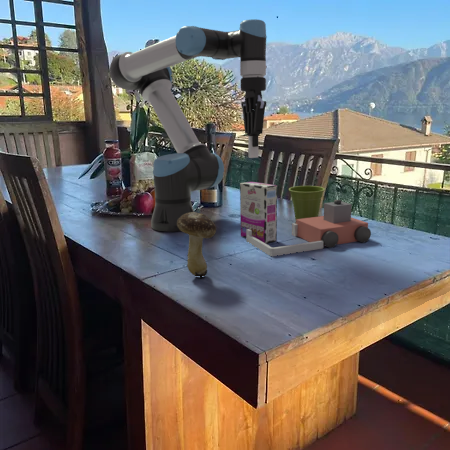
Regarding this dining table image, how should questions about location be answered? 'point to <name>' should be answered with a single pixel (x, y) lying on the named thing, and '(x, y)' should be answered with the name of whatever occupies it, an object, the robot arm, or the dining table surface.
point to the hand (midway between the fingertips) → (253, 157)
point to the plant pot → (306, 200)
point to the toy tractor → (321, 231)
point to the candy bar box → (259, 210)
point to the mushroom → (196, 239)
